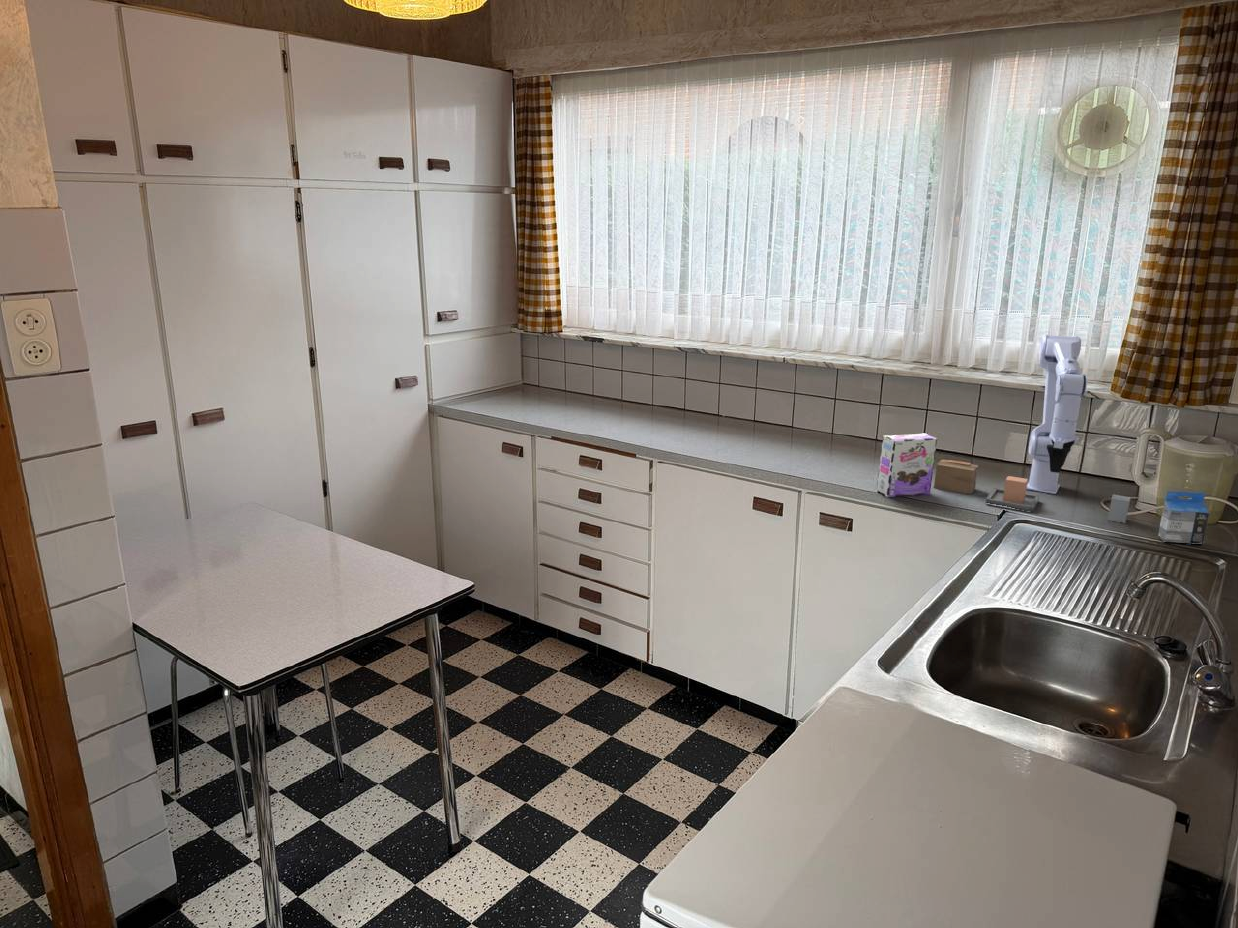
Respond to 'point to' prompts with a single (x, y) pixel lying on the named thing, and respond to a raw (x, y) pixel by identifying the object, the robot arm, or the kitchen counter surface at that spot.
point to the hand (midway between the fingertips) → (1056, 468)
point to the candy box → (906, 464)
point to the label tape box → (1184, 517)
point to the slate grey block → (1118, 508)
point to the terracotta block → (1015, 489)
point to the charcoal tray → (1027, 505)
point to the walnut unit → (956, 476)
